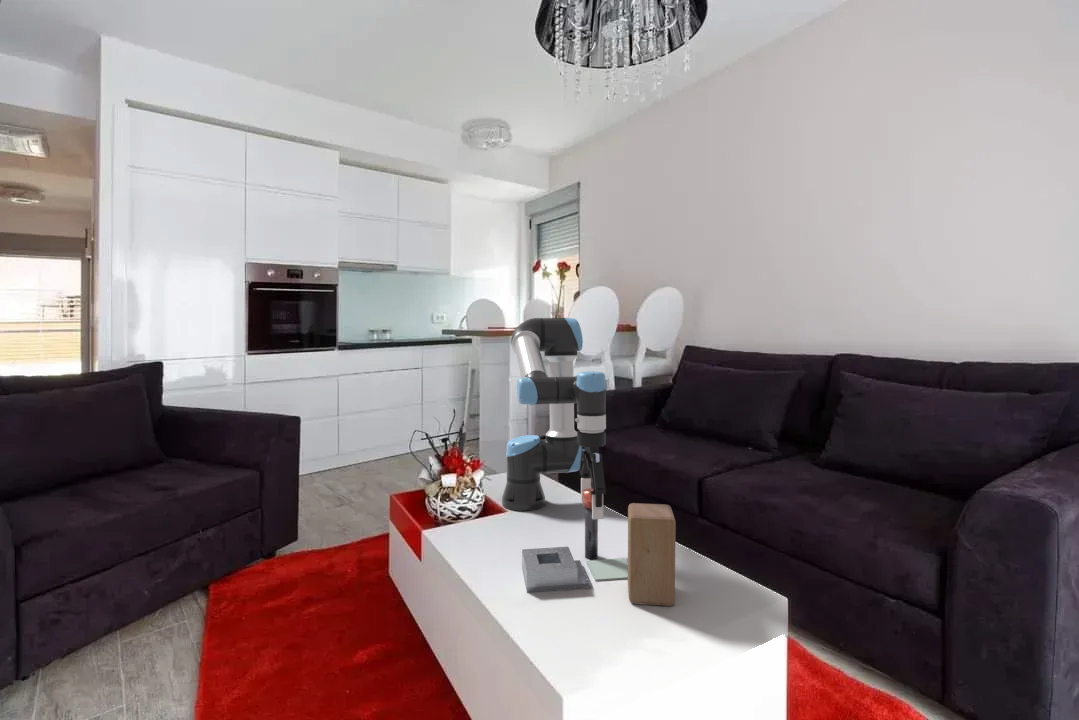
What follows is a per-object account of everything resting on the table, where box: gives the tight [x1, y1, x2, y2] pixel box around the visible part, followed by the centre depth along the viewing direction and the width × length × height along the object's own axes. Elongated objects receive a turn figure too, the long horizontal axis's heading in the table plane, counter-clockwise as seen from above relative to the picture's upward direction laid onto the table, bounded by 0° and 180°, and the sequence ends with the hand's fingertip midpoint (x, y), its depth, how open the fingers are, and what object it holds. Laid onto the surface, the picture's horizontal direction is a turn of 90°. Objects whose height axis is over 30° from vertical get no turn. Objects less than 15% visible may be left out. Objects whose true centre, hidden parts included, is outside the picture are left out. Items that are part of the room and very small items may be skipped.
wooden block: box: [627, 502, 677, 607], centre depth 117 cm, size 10×10×20 cm
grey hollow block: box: [521, 546, 591, 593], centre depth 126 cm, size 12×15×5 cm
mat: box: [586, 558, 628, 582], centre depth 130 cm, size 10×10×1 cm
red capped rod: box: [582, 487, 599, 561], centre depth 137 cm, size 4×4×18 cm
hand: (591, 509), depth 137 cm, fingers open, 13 cm apart
